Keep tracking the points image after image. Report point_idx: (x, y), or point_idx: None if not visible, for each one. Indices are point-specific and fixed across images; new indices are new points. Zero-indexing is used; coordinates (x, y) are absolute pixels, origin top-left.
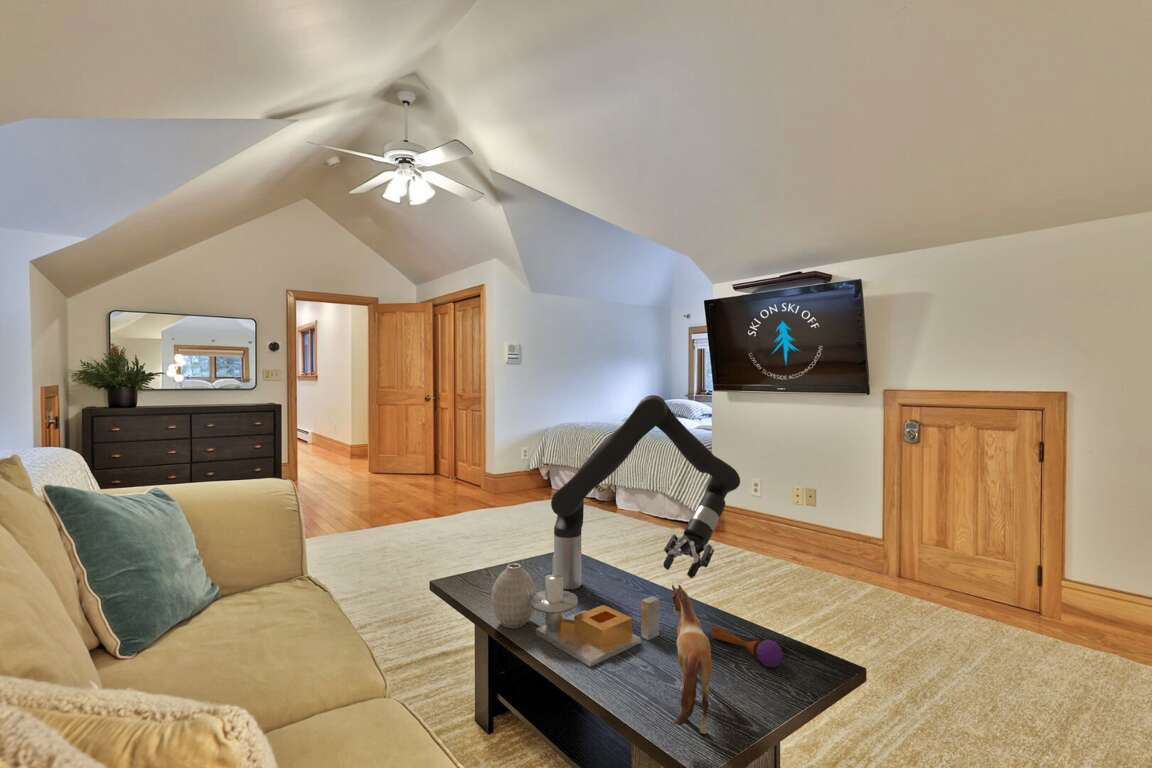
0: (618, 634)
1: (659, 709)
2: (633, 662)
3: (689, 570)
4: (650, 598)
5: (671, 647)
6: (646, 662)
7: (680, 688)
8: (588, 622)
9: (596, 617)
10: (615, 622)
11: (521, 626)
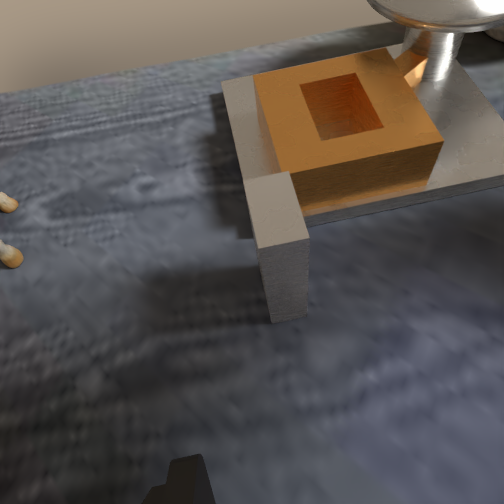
0: (269, 150)
1: (13, 138)
2: (179, 174)
3: (184, 488)
4: (284, 214)
5: (176, 308)
6: (158, 200)
7: (9, 197)
8: (322, 63)
9: (365, 104)
10: (280, 119)
11: (484, 30)
